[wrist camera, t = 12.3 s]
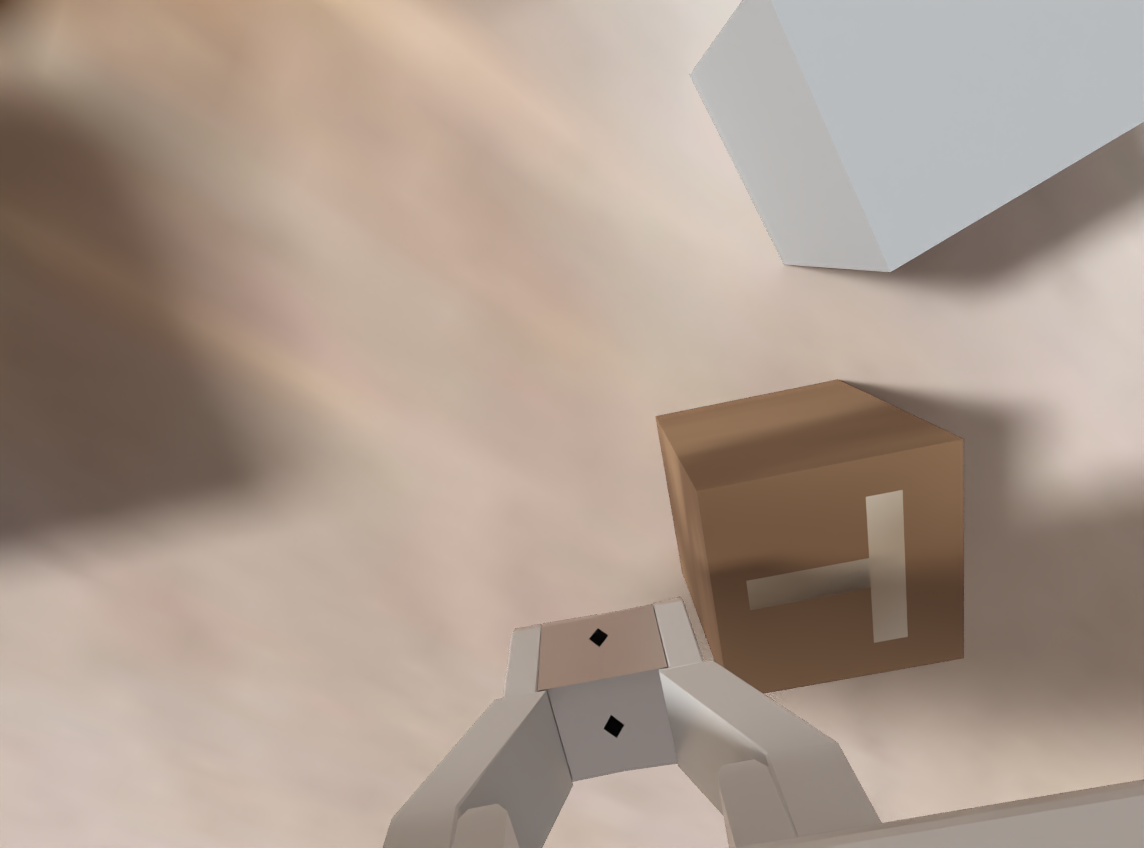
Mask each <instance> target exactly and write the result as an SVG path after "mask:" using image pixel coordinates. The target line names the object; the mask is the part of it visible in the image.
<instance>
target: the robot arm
mask: <svg viewBox="0 0 1144 848" xmlns="http://www.w3.org/2000/svg"><path fill="white" fill-rule="evenodd" d="M677 763H678V766H679V767H680V768H681V770H682V771H683V772H684V773H685V774H686V775H687V776H688V777H689V778H690V779H691V781H692V782H693V783H694V784H695V785H696V786H697V787H698V788H699V789H700V790H701V792H702V793H703V794H704V795H705V796H706V797H707V798H708V799H709V800H710V802H711V803H712V804H713V805H714V806H715V807H716V808H717V809H718V810H719V811H720V813H721V814H722V815H723V816H724V821H725V827H726V832H727V838H728V844H729V848H1144V780H1138V781H1132V782H1126V783H1119V784H1113V785H1107V786H1101V787H1095V788H1089V789H1083V790H1077V791H1071V792H1065V793H1059V794H1053V795H1047V796H1041V797H1035V798H1029V799H1023V800H1017V801H1011V802H1005V803H999V804H993V805H987V806H981V807H975V808H969V809H963V810H957V811H951V812H945V813H939V814H933V815H927V816H921V817H915V818H909V819H903V820H897V821H891V822H885V823H882V822H881V821H880V819H879V817H878V815H877V813H876V811H875V810H874V808H873V806H872V804H871V802H870V800H869V799H868V797H867V795H866V793H865V791H864V790H863V788H862V786H861V784H860V782H859V780H858V779H857V777H856V775H855V773H854V771H853V769H852V768H851V766H850V764H849V762H848V760H847V759H846V757H845V755H844V753H843V751H842V749H841V748H840V746H839V744H838V743H837V742H836V741H834V740H833V739H831V738H830V737H828V736H827V735H825V734H824V733H822V732H821V731H819V730H818V729H816V728H815V727H813V726H812V725H810V724H809V723H807V722H806V721H804V720H803V719H801V718H800V717H798V716H796V715H795V714H793V713H792V712H790V711H789V710H787V709H786V708H784V707H783V706H781V705H780V704H778V703H777V702H775V701H774V700H772V699H771V698H769V697H768V696H766V695H765V694H763V693H762V692H760V691H759V690H757V689H756V688H754V687H753V686H751V685H750V684H748V683H747V682H745V681H744V680H742V679H741V678H739V677H737V676H736V675H734V674H733V673H731V672H730V671H728V670H727V669H725V668H724V667H722V666H721V665H719V664H718V663H716V662H715V661H713V660H710V661H704V660H703V657H702V654H701V652H700V649H699V646H698V643H697V640H696V637H695V634H694V631H693V628H692V625H691V622H690V619H689V616H688V613H687V610H686V607H685V604H684V601H683V599H682V598H681V597H678V598H673V599H669V600H664V601H660V602H655V603H653V605H652V604H650V605H645V606H640V607H635V608H630V609H625V610H620V611H615V612H610V613H604V614H599V615H598V614H596V615H590V616H584V617H578V618H572V619H566V620H560V621H554V622H548V623H543V625H542V624H537V625H532V626H526V627H521V628H515V630H514V631H513V633H512V636H511V643H510V650H509V658H508V665H507V672H506V680H505V687H504V694H503V698H502V699H497V700H494V701H493V702H492V703H491V705H490V706H489V707H488V708H487V709H486V710H485V712H484V713H483V714H482V715H481V716H480V717H479V718H478V720H477V721H476V722H475V723H474V724H473V725H472V727H471V728H470V729H469V730H468V731H467V732H466V733H465V735H464V736H463V737H462V738H461V739H460V740H459V742H458V743H457V744H456V745H455V746H454V747H453V749H452V750H451V751H450V752H449V753H448V754H447V755H446V757H445V758H444V759H443V760H442V761H441V762H440V764H439V765H438V766H437V767H436V768H435V769H434V770H433V772H432V773H431V774H430V775H429V776H428V777H427V779H426V780H425V781H424V782H423V783H422V784H421V785H420V787H419V788H418V789H417V790H416V791H415V792H414V794H413V795H412V796H411V797H410V798H409V799H408V801H407V802H406V803H405V804H404V805H403V806H402V807H401V809H400V810H399V811H398V812H397V813H396V814H395V816H394V817H393V818H392V819H391V822H390V825H389V829H388V832H387V835H386V839H385V842H384V845H383V848H542V847H543V845H544V843H545V841H546V839H547V837H548V835H549V833H550V831H551V829H552V827H553V825H554V823H555V821H556V819H557V817H558V815H559V813H560V811H561V808H562V806H563V804H564V802H565V800H566V798H567V796H568V794H569V792H570V790H571V788H572V786H573V783H572V782H574V781H578V780H583V779H588V778H593V777H598V776H603V775H608V774H612V773H617V772H622V771H628V770H635V769H642V768H649V767H656V766H663V765H670V764H677Z"/></svg>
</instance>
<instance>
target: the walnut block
mask: <svg viewBox="0 0 1144 848" xmlns="http://www.w3.org/2000/svg"><path fill="white" fill-rule="evenodd" d="M656 421H657V427H658V433H659V439H660V445H661V451H662V457H663V462H664V468H665V474H666V480H667V486H668V492H669V497H670V503H671V509H672V515H673V521H674V527H675V533H676V538H677V544H678V550H679V556H680V562H681V568H682V573H683V576H684V578H685V581H686V584H687V586H688V589H689V592H690V595H691V597H692V600H693V603H694V606H695V608H696V611H697V614H698V616H699V619H700V622H701V625H702V627H703V630H704V633H705V636H706V638H707V641H708V644H709V646H710V649H711V652H712V655H713V657H714V660H715V662H716V663H718V664H719V665H721V666H722V667H724V668H725V669H727V670H728V671H730V672H731V673H733V674H734V675H736V676H737V677H739V678H741V679H742V680H744V681H745V682H747V683H748V684H750V685H751V686H753V687H754V688H756V689H757V690H759V691H760V692H762V693H769V692H775V691H780V690H786V689H792V688H797V687H803V686H809V685H814V684H820V683H825V682H831V681H837V680H842V679H848V678H854V677H859V676H865V675H871V674H876V673H882V672H888V671H893V670H899V669H905V668H910V667H916V666H922V665H927V664H933V663H939V662H944V661H950V660H956V659H961V658H964V439H963V438H960V437H958V436H956V435H954V434H952V433H950V432H948V431H946V430H944V429H941V428H939V427H937V426H935V425H933V424H931V423H929V422H927V421H924V420H922V419H920V418H918V417H916V416H914V415H912V414H910V413H908V412H905V411H903V410H901V409H899V408H897V407H895V406H893V405H891V404H888V403H886V402H884V401H882V400H880V399H878V398H876V397H874V396H872V395H869V394H867V393H865V392H863V391H861V390H859V389H857V388H855V387H852V386H850V385H848V384H846V383H844V382H842V381H840V380H833V381H828V382H823V383H819V384H814V385H809V386H804V387H799V388H794V389H789V390H784V391H779V392H774V393H769V394H764V395H759V396H754V397H749V398H744V399H739V400H735V401H730V402H725V403H720V404H715V405H710V406H705V407H700V408H695V409H690V410H685V411H680V412H675V413H670V414H665V415H660V416H656Z"/></svg>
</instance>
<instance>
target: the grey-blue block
mask: <svg viewBox="0 0 1144 848" xmlns="http://www.w3.org/2000/svg"><path fill="white" fill-rule="evenodd" d="M690 77H691V79H692V81H693V83H694V85H695V87H696V89H697V91H698V93H699V95H700V97H701V99H702V101H703V103H704V105H705V107H706V109H707V111H708V113H709V115H710V117H711V119H712V121H713V123H714V125H715V127H716V129H717V131H718V133H719V135H720V137H721V139H722V141H723V143H724V145H725V147H726V149H727V151H728V153H729V155H730V157H731V159H732V161H733V163H734V165H735V167H736V169H737V171H738V173H739V175H740V177H741V179H742V181H743V183H744V186H745V188H746V190H747V192H748V194H749V196H750V198H751V200H752V202H753V204H754V206H755V208H756V210H757V212H758V214H759V216H760V218H761V220H762V222H763V224H764V226H765V228H766V230H767V232H768V234H769V236H770V238H771V240H772V242H773V244H774V246H775V248H776V250H777V252H778V254H779V256H780V258H781V260H782V262H783V264H785V265H798V266H812V267H826V268H840V269H854V270H867V271H881V272H892V271H893V270H895V269H897V268H898V267H900V266H902V265H903V264H905V263H907V262H908V261H910V260H912V259H913V258H915V257H917V256H919V255H920V254H922V253H924V252H925V251H927V250H929V249H930V248H932V247H934V246H935V245H937V244H939V243H940V242H942V241H944V240H945V239H947V238H949V237H951V236H952V235H954V234H956V233H957V232H959V231H961V230H962V229H964V228H966V227H967V226H969V225H971V224H972V223H974V222H976V221H978V220H979V219H981V218H983V217H984V216H986V215H988V214H989V213H991V212H993V211H994V210H996V209H998V208H999V207H1001V206H1003V205H1004V204H1006V203H1008V202H1010V201H1011V200H1013V199H1015V198H1016V197H1018V196H1020V195H1021V194H1023V193H1025V192H1026V191H1028V190H1030V189H1031V188H1033V187H1035V186H1036V185H1038V184H1040V183H1042V182H1043V181H1045V180H1047V179H1048V178H1050V177H1052V176H1053V175H1055V174H1057V173H1058V172H1060V171H1062V170H1063V169H1065V168H1067V167H1068V166H1070V165H1072V164H1074V163H1075V162H1077V161H1079V160H1080V159H1082V158H1084V157H1085V156H1087V155H1089V154H1090V153H1092V152H1094V151H1095V150H1097V149H1099V148H1101V147H1102V146H1104V145H1106V144H1107V143H1109V142H1111V141H1112V140H1114V139H1116V138H1117V137H1119V136H1121V135H1122V134H1124V133H1126V132H1127V131H1129V130H1131V129H1133V128H1134V127H1136V126H1138V125H1139V124H1141V123H1143V122H1144V0H742V1H741V3H740V4H739V6H738V7H737V9H736V10H735V11H734V13H733V14H732V16H731V17H730V18H729V20H728V21H727V23H726V24H725V25H724V27H723V28H722V30H721V31H720V32H719V34H718V35H717V37H716V38H715V40H714V41H713V42H712V44H711V45H710V47H709V48H708V49H707V51H706V52H705V54H704V55H703V56H702V58H701V59H700V61H699V62H698V63H697V65H696V66H695V68H694V69H693V70H692V72H691V73H690Z"/></svg>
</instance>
